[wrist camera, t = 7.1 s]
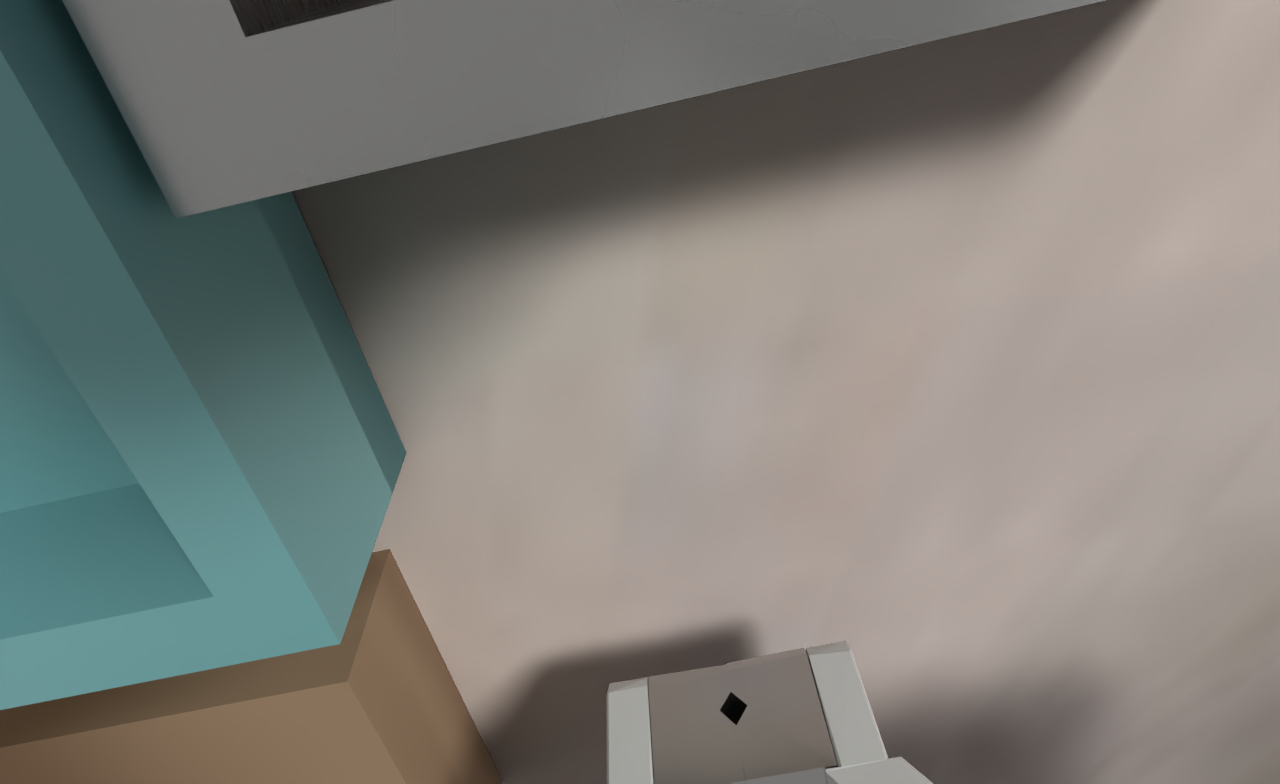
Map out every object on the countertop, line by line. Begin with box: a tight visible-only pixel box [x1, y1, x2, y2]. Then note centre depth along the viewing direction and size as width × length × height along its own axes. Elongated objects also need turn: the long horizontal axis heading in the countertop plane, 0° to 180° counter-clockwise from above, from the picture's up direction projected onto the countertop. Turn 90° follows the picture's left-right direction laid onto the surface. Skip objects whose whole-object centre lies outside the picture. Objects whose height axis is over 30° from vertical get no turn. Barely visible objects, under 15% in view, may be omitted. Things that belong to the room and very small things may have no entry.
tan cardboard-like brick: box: [0, 549, 502, 784], centre depth 11 cm, size 7×5×2 cm
